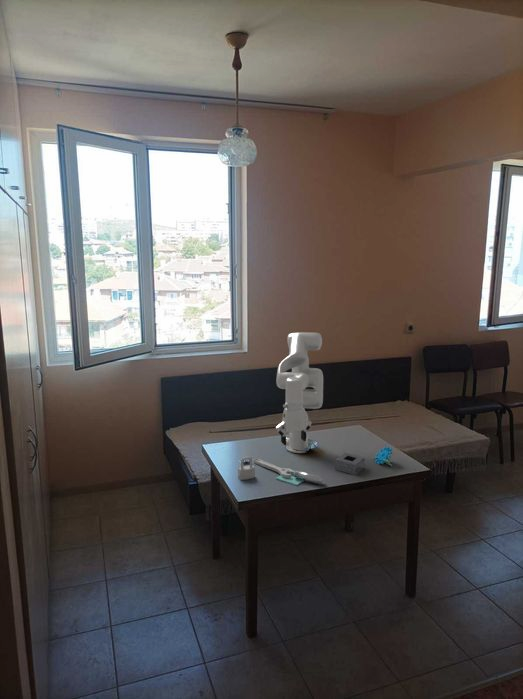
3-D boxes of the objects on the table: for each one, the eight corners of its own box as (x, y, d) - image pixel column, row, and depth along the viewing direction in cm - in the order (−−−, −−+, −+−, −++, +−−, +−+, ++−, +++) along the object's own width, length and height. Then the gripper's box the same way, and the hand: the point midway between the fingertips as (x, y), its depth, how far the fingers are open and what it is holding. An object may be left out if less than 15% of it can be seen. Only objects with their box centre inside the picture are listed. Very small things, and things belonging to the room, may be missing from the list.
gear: (371, 455, 242) (387, 442, 240) (379, 462, 243) (394, 449, 241) (377, 467, 231) (393, 454, 229) (385, 475, 233) (401, 461, 231)
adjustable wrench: (252, 462, 237) (252, 459, 237) (262, 459, 241) (262, 455, 241) (286, 479, 218) (286, 475, 218) (297, 475, 222) (297, 471, 222)
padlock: (240, 481, 218) (240, 459, 216) (237, 477, 222) (237, 456, 220) (255, 478, 221) (255, 457, 219) (252, 474, 224) (252, 453, 223)
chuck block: (335, 469, 230) (335, 459, 229) (344, 462, 238) (345, 452, 237) (354, 475, 224) (355, 464, 223) (364, 467, 232) (364, 457, 231)
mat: (276, 479, 220) (276, 477, 220) (289, 470, 228) (289, 469, 228) (297, 485, 213) (297, 484, 213) (310, 476, 222) (310, 475, 222)
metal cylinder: (293, 476, 217) (319, 483, 212) (295, 469, 218) (321, 476, 214) (295, 478, 220) (321, 485, 215) (297, 471, 221) (323, 477, 217)
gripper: (280, 411, 208) (279, 448, 212) (315, 405, 215) (315, 441, 219) (272, 405, 215) (272, 442, 218) (307, 400, 221) (306, 435, 225)
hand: (293, 442), depth 219 cm, fingers open, 9 cm apart
